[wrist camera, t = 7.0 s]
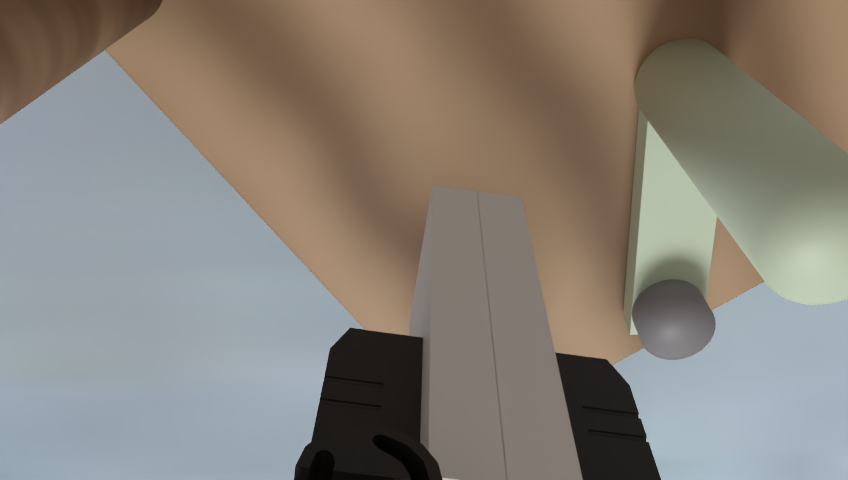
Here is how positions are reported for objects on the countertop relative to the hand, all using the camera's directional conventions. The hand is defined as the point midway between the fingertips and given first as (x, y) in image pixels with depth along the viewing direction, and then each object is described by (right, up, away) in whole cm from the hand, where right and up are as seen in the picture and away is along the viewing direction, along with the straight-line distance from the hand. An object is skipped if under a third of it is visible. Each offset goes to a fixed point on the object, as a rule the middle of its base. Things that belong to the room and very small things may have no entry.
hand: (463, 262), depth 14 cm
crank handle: (+8, +2, +14) cm, 16 cm away
